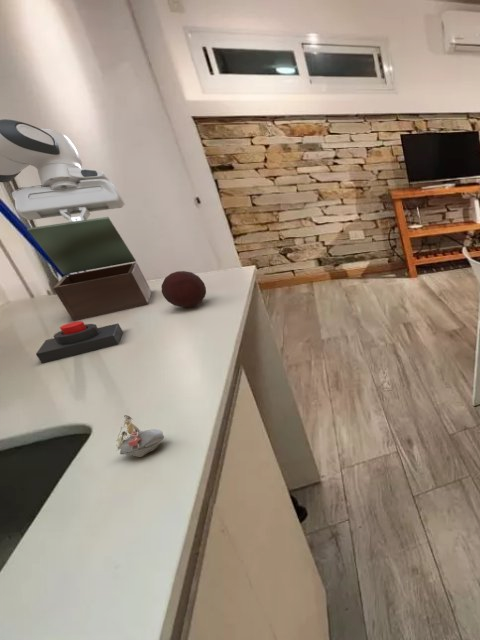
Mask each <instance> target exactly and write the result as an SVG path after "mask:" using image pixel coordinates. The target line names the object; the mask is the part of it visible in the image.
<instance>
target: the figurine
mask: <svg viewBox="0 0 480 640" xmlns="http://www.w3.org/2000/svg"><path fill="white" fill-rule="evenodd" d="M123 418H124V421H123V425H122V426H121V427H120V430H119V433H118V435H117V439H116V440H115V441H116V442H117V444H116V451H119V455H126V456H132V457H133V456H134V457H138V458H139V457H140V458H142V457H144V456H146V455H148V453H151V452H153V451H155V450H156V449H157V448H158V447H159V446H160V445H161V442H162V441H163V440H164V439H165V435H164V433H163V431H162V430H160V429H146V430H142V431H141V429H139V427H137V426H136V425H135V424H134V423H133V422H132V420H133V418H132V417H131V416H130V415H127V414H124V415H123ZM125 425H126V426H125ZM123 428H126V429H127V430H126V431H122V429H123ZM128 434H129V435H128Z"/></svg>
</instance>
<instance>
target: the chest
mask: <svg viewBox="0 0 480 640" xmlns="http://www.w3.org/2000/svg"><path fill="white" fill-rule="evenodd" d="M52 289H53V290H54V292H55V294H56V295H57V298H58V299H59V300H60V302H61V303H62V306H63V307H64V308H65V310H66V312H67V314H68V315H69V317H70V318H71V320H72V321H73V322H76V321H80V320H83V319H88V318H93V317H98V316H102V315H106V314H110V313H115V312H119V311H124V310H129V309H132V308H138V307H143V306H147V305H149V304H150V300H151V295H152V292H153V291H152V289H151V287H150V285H149V283H148V281H147V280H146V277H145V275H144V273H143V272H142V269H141V268H140V265H139V263H138V262H137V261H136V262H130V263H125V264H119V265H114V266H108V267H103V268H97V269H92V270H86V271H81V272H75V273H70V274H64V276H62V278H60V280H59V281H58V282H57V283H56V284H55V285H54V286H53V287H52Z"/></svg>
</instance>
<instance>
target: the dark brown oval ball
mask: <svg viewBox="0 0 480 640" xmlns="http://www.w3.org/2000/svg"><path fill="white" fill-rule="evenodd" d="M161 293H162V296H163V298H164V300H166V301H167V302H168V303H169V304H171V305H172V306H175V307H180V308H192V307H195V306H197V305H199V304H201V303H202V302H203V300H204V298H206V295H207V287H206V284H205V282H204V281H203V280H202V278H201V277H200V276H199V275H197V274H195V273H194V272H192V271H186V270H180V271H177V270H176V271H175V272H174V271H173V272H171V273H170V274H168V275H166V277H164V279H163V281H162V283H161Z"/></svg>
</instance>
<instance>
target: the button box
mask: <svg viewBox="0 0 480 640" xmlns="http://www.w3.org/2000/svg"><path fill="white" fill-rule="evenodd" d="M84 324H85V326H86V328H87V329H85V330H82V331H79V332H76V333H72V334H66V335H64V334H63V332H62V330H60V331H58V332H56V333H54V335H53V338H49V339H46V340H45V341H44V342H43V343H42V345H41V346H40V347H39V349H38V351H37V352H36V353H35V355H36V357H37V359H38V360H39V361H40V363H41V364H44V363H49V362H53V361H57V360H60V359H65V358H69V357H73V356H76V355H80V354H85V353H89V352H93V351H97V350H100V349H105V348H108V347H113V346H116V345H119V343H120V341H121V338H122V335H123V333H124V330H123V329H122V327H121V326H120V324H119V323H118V322H117V323H113V324H108V325H105V326H100V327H98V326H97V324H94V323H84Z"/></svg>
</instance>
